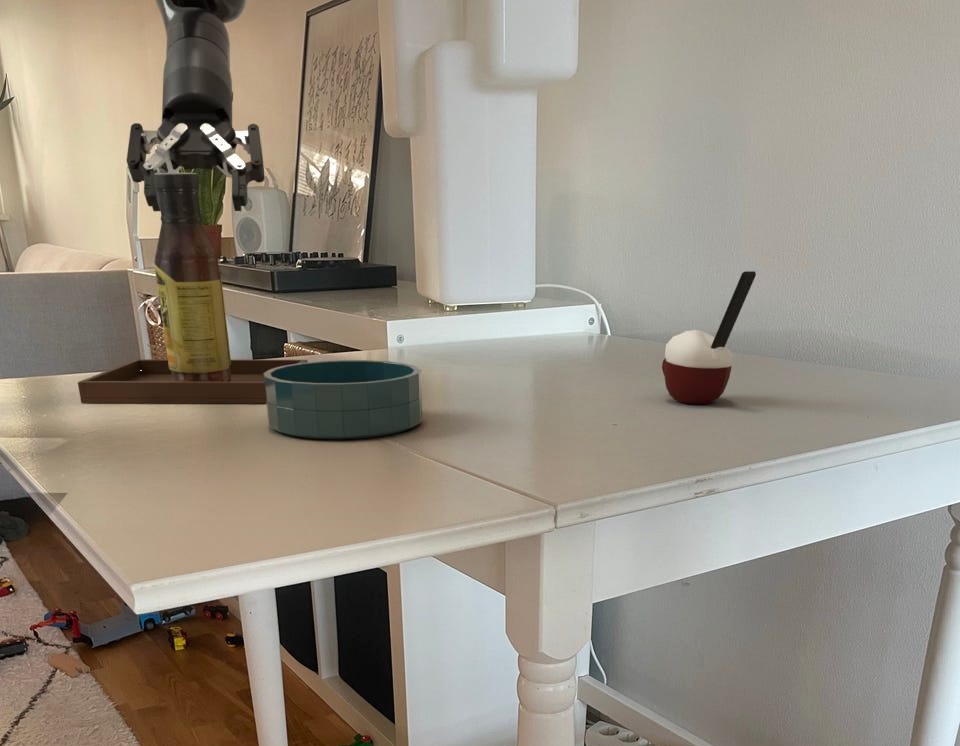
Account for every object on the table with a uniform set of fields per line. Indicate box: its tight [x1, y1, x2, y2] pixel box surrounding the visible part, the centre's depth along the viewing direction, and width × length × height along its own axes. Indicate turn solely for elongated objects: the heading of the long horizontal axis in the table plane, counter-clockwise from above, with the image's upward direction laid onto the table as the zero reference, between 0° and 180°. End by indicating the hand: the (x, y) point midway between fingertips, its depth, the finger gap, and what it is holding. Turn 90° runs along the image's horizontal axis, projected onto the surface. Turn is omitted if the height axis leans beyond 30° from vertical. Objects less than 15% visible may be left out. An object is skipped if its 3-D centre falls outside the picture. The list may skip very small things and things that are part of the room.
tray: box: [77, 358, 309, 405], centre depth 100 cm, size 19×15×2 cm
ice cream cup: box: [661, 270, 757, 405], centre depth 91 cm, size 10×6×12 cm, turn 10°
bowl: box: [263, 359, 423, 440], centre depth 84 cm, size 13×13×4 cm
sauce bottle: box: [153, 172, 232, 382], centre depth 97 cm, size 7×6×20 cm
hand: (196, 205), depth 104 cm, fingers open, 8 cm apart
